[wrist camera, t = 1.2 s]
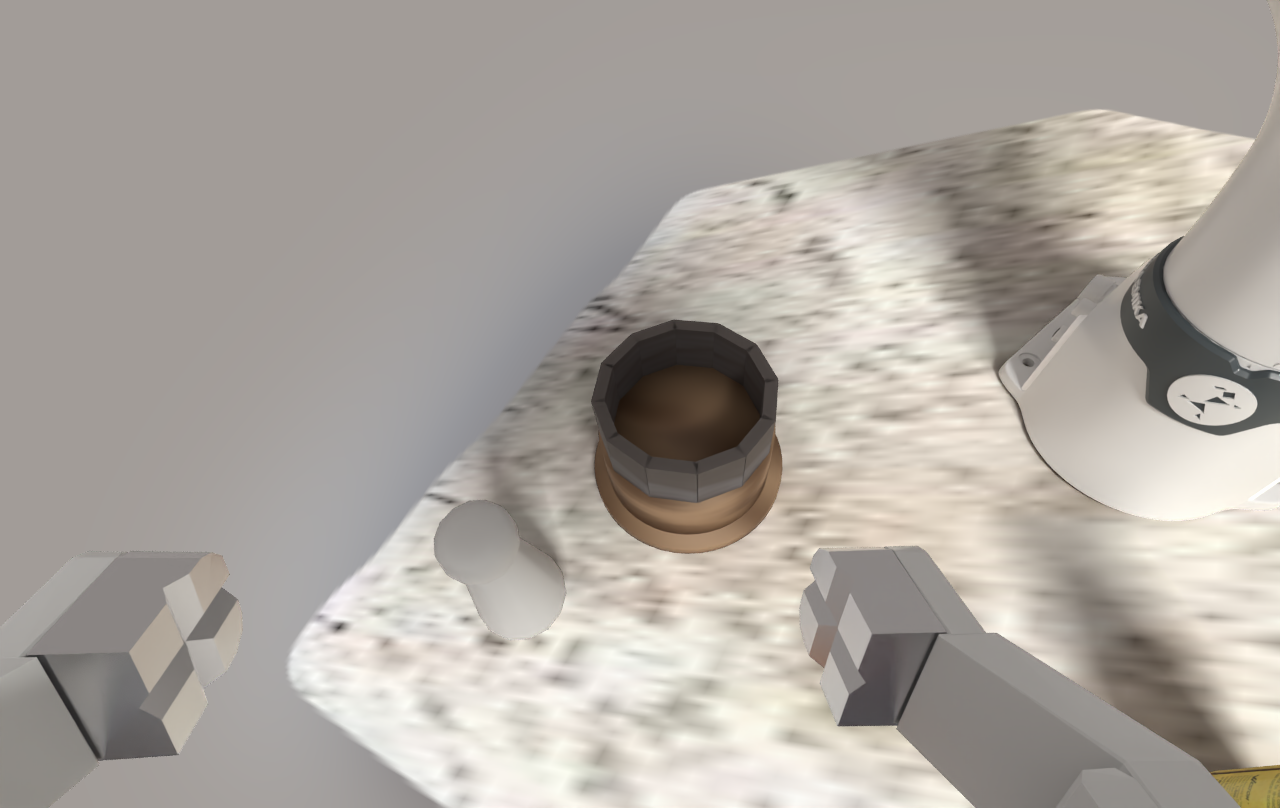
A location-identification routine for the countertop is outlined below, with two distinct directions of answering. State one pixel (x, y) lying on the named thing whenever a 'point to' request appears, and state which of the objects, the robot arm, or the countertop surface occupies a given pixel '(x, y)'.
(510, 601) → the salt shaker
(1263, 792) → the sauce bottle
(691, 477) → the brown pot
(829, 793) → the countertop surface
